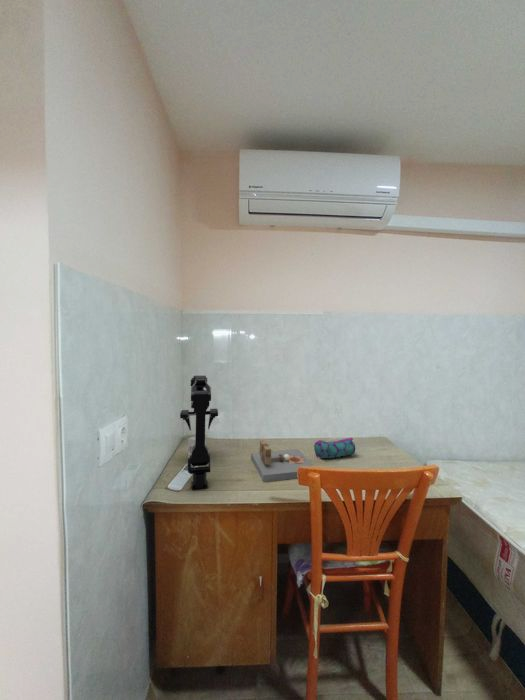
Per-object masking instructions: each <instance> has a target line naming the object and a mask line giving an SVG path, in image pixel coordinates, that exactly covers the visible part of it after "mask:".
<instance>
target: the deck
mask: <svg viewBox="0 0 525 700" xmlns="http://www.w3.org/2000/svg"><path fill="white" fill-rule="evenodd" d="M279 454H282V455H283V457H284V455H285V454H288V455H289V457H290V458H289V460H288V461H286V460H284V461H282V462H281V461H280V460H277V461H271V464H267V465H265V463H264V461H263V460H262V458H261V456H260V451H259V452H258V451H257V452H251V453H250V459H251V461H252V463H253V465H254V467H255V469H256V471H257V473H258V475H259V477H260V479H261V480H262V483H266V482H267V481H268V482H275V481H274V480H277V481H284V480H283V479H286V480H291V479H293V480H294V479H298V478H297V468H298V466H315V465H314V463H312V462H311V461H310V460H309V459H308V457H306V456H305V455H304V453H303V452H302V451H300V449H299V448H295V449H284V450H271V457H272V456H279Z"/></svg>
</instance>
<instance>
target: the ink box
mask: <svg viewBox="0 0 525 700" xmlns="http://www.w3.org/2000/svg"><path fill="white" fill-rule="evenodd" d="M195 436H196V435H194V436H191V437H189V438H188V439H187V440H188V446H187V447H188V448H187V449H188V451H187V452H188V453H187V454H188V456H187V458H189V457H190V455H192V448H193V446H194V445H195ZM207 436H208V435H207V434H205V445H206V446H207ZM207 447H208V446H207Z"/></svg>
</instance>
